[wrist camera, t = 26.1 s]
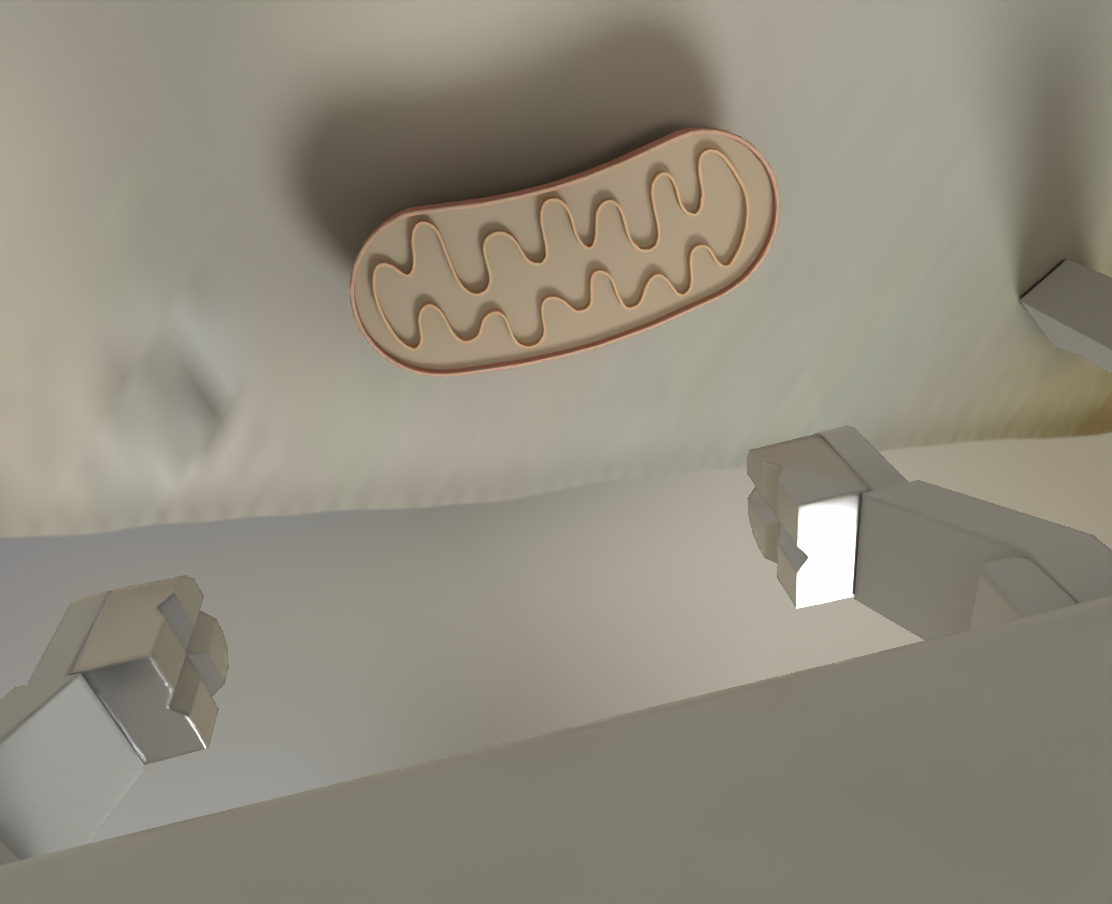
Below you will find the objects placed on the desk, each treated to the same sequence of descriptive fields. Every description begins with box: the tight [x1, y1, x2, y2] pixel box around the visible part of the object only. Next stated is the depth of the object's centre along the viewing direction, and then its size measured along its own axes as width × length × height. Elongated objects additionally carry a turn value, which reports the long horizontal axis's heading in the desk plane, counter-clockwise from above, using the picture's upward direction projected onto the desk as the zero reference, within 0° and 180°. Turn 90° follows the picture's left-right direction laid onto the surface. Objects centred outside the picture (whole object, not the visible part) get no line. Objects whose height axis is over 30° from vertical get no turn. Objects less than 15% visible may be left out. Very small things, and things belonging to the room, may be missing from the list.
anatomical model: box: [350, 127, 780, 377], centre depth 43 cm, size 23×10×5 cm, turn 104°
